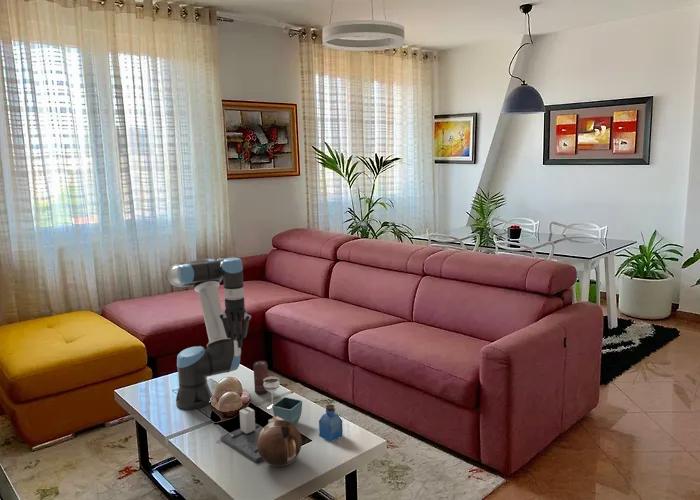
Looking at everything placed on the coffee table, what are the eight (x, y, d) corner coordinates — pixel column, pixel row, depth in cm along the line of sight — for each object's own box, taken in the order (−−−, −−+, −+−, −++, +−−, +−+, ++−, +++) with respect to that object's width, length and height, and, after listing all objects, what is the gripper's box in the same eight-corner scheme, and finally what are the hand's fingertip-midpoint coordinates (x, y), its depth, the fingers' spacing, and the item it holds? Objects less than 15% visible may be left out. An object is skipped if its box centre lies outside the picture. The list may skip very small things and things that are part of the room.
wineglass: (283, 404, 232) (282, 378, 230) (274, 411, 226) (273, 384, 224) (270, 401, 235) (269, 375, 233) (261, 408, 229) (259, 381, 227)
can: (263, 396, 240) (261, 366, 237) (252, 393, 243) (250, 363, 241) (271, 391, 245) (270, 361, 243) (261, 388, 248) (259, 358, 246)
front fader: (269, 440, 200) (268, 419, 198) (278, 436, 202) (277, 415, 201) (276, 444, 197) (275, 422, 195) (284, 439, 200) (283, 418, 198)
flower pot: (272, 427, 213) (271, 405, 211) (285, 417, 221) (284, 396, 219) (291, 431, 209) (290, 410, 207) (303, 421, 217) (303, 400, 215)
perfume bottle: (331, 430, 210) (330, 401, 208) (342, 435, 205) (341, 406, 203) (319, 436, 205) (318, 406, 203) (330, 442, 201) (329, 411, 199)
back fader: (240, 430, 207) (239, 409, 206) (249, 426, 210) (248, 406, 209) (246, 433, 205) (245, 413, 203) (255, 429, 207) (254, 409, 206)
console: (221, 440, 204) (220, 436, 203) (254, 425, 214) (253, 421, 214) (256, 463, 189) (255, 458, 188) (289, 445, 199) (289, 441, 199)
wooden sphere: (255, 456, 193) (252, 416, 190) (296, 447, 198) (294, 409, 195) (263, 479, 179) (261, 437, 176) (307, 469, 184) (305, 428, 181)
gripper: (214, 299, 211) (218, 357, 215) (245, 301, 208) (248, 359, 212) (223, 294, 218) (227, 350, 222) (253, 295, 215) (256, 352, 219)
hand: (237, 354), depth 217 cm, fingers closed
